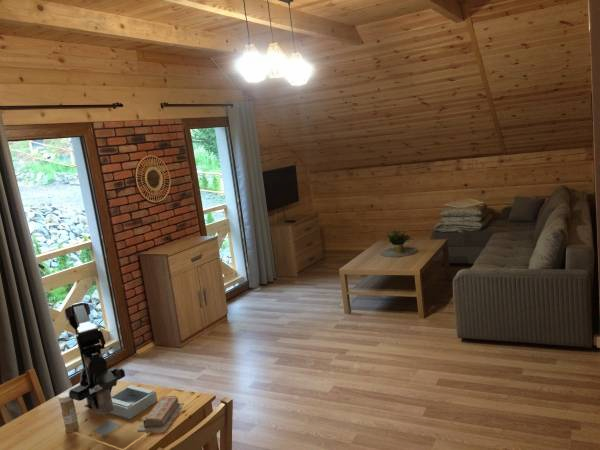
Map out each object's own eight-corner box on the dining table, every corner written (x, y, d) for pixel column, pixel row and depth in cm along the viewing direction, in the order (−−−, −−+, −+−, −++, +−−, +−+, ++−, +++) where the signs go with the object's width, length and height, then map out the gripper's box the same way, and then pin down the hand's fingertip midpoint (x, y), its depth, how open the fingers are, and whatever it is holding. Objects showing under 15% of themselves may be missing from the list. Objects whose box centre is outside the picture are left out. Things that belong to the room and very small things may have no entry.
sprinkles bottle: (62, 432, 184) (55, 397, 182) (72, 425, 188) (65, 390, 186) (72, 433, 182) (65, 398, 180) (82, 426, 186) (75, 391, 184)
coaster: (92, 432, 182) (91, 431, 181) (108, 422, 187) (108, 420, 187) (104, 437, 178) (104, 435, 178) (121, 426, 183) (121, 424, 183)
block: (103, 415, 178) (99, 394, 177) (92, 412, 181) (88, 390, 180) (113, 409, 181) (109, 388, 180) (102, 406, 185) (98, 385, 183)
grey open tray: (104, 412, 195) (102, 400, 194) (132, 395, 205) (130, 384, 205) (129, 420, 187) (127, 407, 186) (157, 402, 198) (155, 390, 197)
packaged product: (157, 394, 195) (182, 393, 193) (159, 406, 196) (184, 406, 194) (135, 421, 177) (162, 420, 176) (137, 434, 178) (164, 434, 176)
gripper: (84, 380, 166) (93, 425, 169) (131, 355, 182) (139, 397, 184) (64, 374, 172) (72, 417, 175) (111, 351, 188) (118, 391, 190)
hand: (102, 405), depth 181 cm, fingers closed on block, 4 cm apart
